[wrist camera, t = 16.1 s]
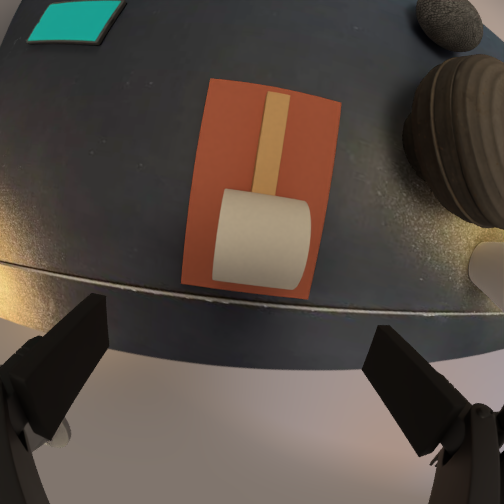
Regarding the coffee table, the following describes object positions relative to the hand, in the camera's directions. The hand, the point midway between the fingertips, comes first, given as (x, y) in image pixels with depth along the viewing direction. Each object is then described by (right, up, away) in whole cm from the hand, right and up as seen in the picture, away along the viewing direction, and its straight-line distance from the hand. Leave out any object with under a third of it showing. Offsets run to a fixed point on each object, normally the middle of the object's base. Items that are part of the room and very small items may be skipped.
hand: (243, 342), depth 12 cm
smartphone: (-24, +35, +9) cm, 43 cm away
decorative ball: (+26, +36, +12) cm, 46 cm away
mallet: (+1, +11, +15) cm, 19 cm away
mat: (+1, +11, +16) cm, 19 cm away
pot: (+23, +17, +16) cm, 33 cm away
